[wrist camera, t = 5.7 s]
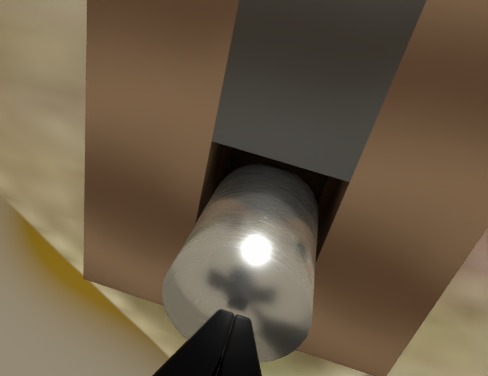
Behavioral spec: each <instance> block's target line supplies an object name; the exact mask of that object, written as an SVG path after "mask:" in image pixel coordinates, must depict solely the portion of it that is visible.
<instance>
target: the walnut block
mask: <svg viewBox="0 0 488 376" xmlns="http://www.w3.org/2000/svg"><path fill="white" fill-rule="evenodd" d="M232 147H233V148H237V149H240V150H243V151H247V152H250V153H253V154H257V155H260V156H263V157H267V158H270V159H274V160H277V161H280V162H284V163H287V164H290V165H294V166H297V167H300V168H304V169H307V170H311V171H314V172H317V173H321V174H324V175H327V176H328V179H327V181H326V184H325V187H324V189H323V192H322V194H321V197H320V200H319V202H318V231H317V246H316V262H315V278H314V294H313V310H312V322H311V328H310V330H309V333H308V335H307V337H306V339H305V340H304V342H303V343H302V344H301V345H300V346H299V347H298V348H297V349H296V350H298V351H301V352H304V353H307V354H310V355H313V356H316V357H319V358H322V359H325V360H328V361H331V362H334V363H337V364H340V365H343V366H346V367H349V368H352V369H355V370H358V371H361V372H364V373H367V374H370V375H373V376H387V374H388V373H389V371H390V370H391V368H392V367H393V365H394V364H395V362H396V361H397V359H398V358H399V356H400V355H401V354H402V352H403V351H404V349H405V348H406V346H407V345H408V343H409V342H410V340H411V339H412V337H413V336H414V334H415V333H416V331H417V330H418V329H419V327H420V326H421V324H422V323H423V321H424V320H425V318H426V317H427V315H428V314H429V312H430V311H431V309H432V308H433V307H434V305H435V304H436V302H437V301H438V299H439V298H440V296H441V295H442V293H443V292H444V290H445V289H446V287H447V286H448V284H449V283H450V282H451V280H452V279H453V277H454V276H455V274H456V273H457V271H458V270H459V268H460V267H461V265H462V264H463V262H464V261H465V260H466V258H467V257H468V255H469V254H470V252H471V251H472V249H473V248H474V246H475V245H476V243H477V242H478V240H479V239H480V237H481V236H482V235H483V233H484V232H485V230H486V229H487V227H488V0H87V52H86V127H85V202H84V279H86V280H89V281H92V282H95V283H98V284H101V285H104V286H107V287H110V288H113V289H116V290H119V291H122V292H125V293H128V294H131V295H134V296H137V297H140V298H143V299H146V300H149V301H152V302H155V303H158V304H161V305H164V303H163V298H162V286H163V282H164V278H165V276H166V274H167V272H168V270H169V269H170V267H171V265H172V263H173V262H174V260H175V258H176V257H177V255H178V253H179V251H180V250H181V248H182V246H183V245H184V243H185V241H186V240H187V238H188V236H189V234H190V233H191V231H192V229H193V228H194V226H195V224H196V222H197V221H198V219H199V217H200V216H201V214H202V212H203V211H204V209H205V207H206V205H207V204H208V202H209V200H210V199H211V197H212V195H213V194H214V192H215V190H216V188H217V187H218V185H219V184H220V182H221V181H222V180H223V178H224V177H225V176H226V172H227V168H228V163H229V159H230V154H231V150H232Z"/></svg>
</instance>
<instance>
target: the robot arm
mask: <svg viewBox="0 0 488 376" xmlns="http://www.w3.org/2000/svg"><path fill="white" fill-rule="evenodd" d="M233 319H234V320H233ZM232 322H233V323H232ZM230 329H231V330H230ZM229 332H230V333H229ZM228 335H229V336H228ZM226 342H227V343H226ZM225 345H226V346H225ZM222 355H223V356H222ZM221 358H222V359H221ZM219 365H220V366H219ZM218 368H219V369H218ZM217 371H218V372H217ZM153 376H262V374H261V369H260V364H259V358H258V353H257V348H256V342H255V337H254V332H253V326H252V322H251V319H250V318H247V317H244V316H241V315H238V314H237V315H235V317H234V313H232V312H229V311H226V310H223V309H219V310H218V311H216V312H215V313H214V314H213V315H212V316H211V317H210V318H209V319H208V320H207V321H206V322H205V323H204V324H203V325H202V326H201V327H200V328H199V329H198V330H197V331H196V332H195V333H194V334H193V335H192V336H191V337H190V338H189V339H188V340H187V341H186V342H185V343H184V344H183V345H182V346H181V347H180V348H179V349H178V350H177V351H176V352H175V353H174V354H173V355H172V356H171V357H170V358H169V359H168V361H166V362H165V363H164V364H163V365H162V367H160V368H159V369H158V370H157V371H156V372H155V374H154V375H153Z"/></svg>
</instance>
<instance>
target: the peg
mask: <svg viewBox="0 0 488 376" xmlns="http://www.w3.org/2000/svg"><path fill="white" fill-rule="evenodd" d="M317 231H318V205H317V201H316V198H315V196H314V194H313V192H312V190H311V189H310V187H309V186H308V185H307V184H306V183H305V181H304V180H303V179H301V178H300V177H299V176H298V175H296V174H295V173H293V172H292V171H290V170H288V169H286V168H283V167H281V166H277V165H273V164H266V163H255V164H248V165H245V166H242V167H239V168H237V169H235V170H233V171H232V172H230V173H229V174H228V175H226V176H225V177H224V178H223V180H222V181H221V182H220V184H219V185H218V187H217V188H216V190H215V192H214V194H213V195H212V197H211V199H210V200H209V202H208V204H207V205H206V207H205V209H204V211H203V212H202V214H201V216H200V217H199V219H198V221H197V222H196V224H195V226H194V228H193V229H192V231H191V233H190V234H189V236H188V238H187V240H186V241H185V243H184V245H183V246H182V248H181V250H180V251H179V253H178V255H177V257H176V258H175V260H174V262H173V263H172V265H171V267H170V269H169V270H168V272H167V274H166V276H165V278H164V282H163V286H162V298H163V303H164V307H165V310H166V312H167V315H168V316H169V318H170V320H171V322H172V323H173V324H174V326H175V327H176V328H177V329H178V330H179V331H180V333H181V334H182V335H184V336H185V337H186V338H187V339H189V338H190V337H191V336H192V335H193V334H194V333H195V332H196V331H197V330H198V329H199V328H200V327H201V326H202V325H203V324H204V323H205V322H206V321H207V320H208V319H209V318H210V317H211V316H212V315H213V314H214V313H215V312H216V311H218V310H219V309H223V310H226V311H229V312H232V313H234V317H235V315H237V314H238V315H241V316H244V317H247V318H250V319H251V322H252V326H253V332H254V337H255V342H256V348H257V353H258V358H259V362H266V361H272V360H275V359H279V358H281V357H284V356H286V355H288V354H290V353H291V352H293V351H294V350H296V349H297V348H298V347H299V346H300V345H301V344H302V343H303V342H304V340H305V339H306V337H307V335H308V333H309V330H310V328H311V322H312V310H313V294H314V278H315V262H316V246H317ZM233 320H234V319H233ZM232 323H233V322H232ZM230 330H231V329H230ZM229 333H230V332H229ZM228 336H229V335H228ZM226 343H227V342H226ZM225 346H226V345H225ZM222 356H223V355H222Z"/></svg>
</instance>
